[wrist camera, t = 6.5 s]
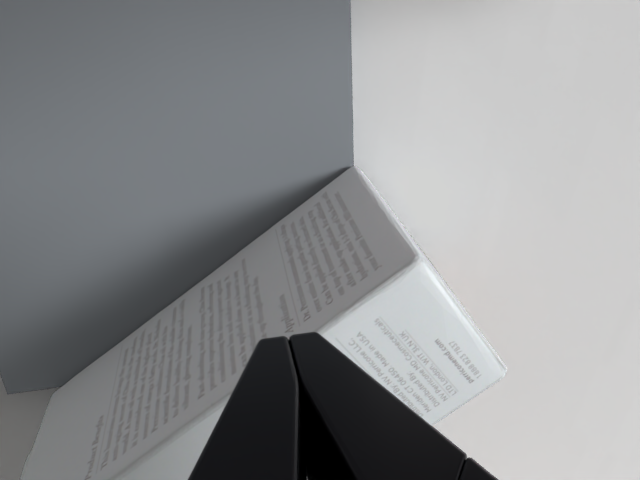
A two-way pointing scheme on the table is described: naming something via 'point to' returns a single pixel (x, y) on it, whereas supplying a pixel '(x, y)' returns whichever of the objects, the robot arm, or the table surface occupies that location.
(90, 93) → the mat
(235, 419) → the robot arm
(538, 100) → the table surface
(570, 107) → the table surface
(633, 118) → the table surface
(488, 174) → the table surface
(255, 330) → the skincare box
